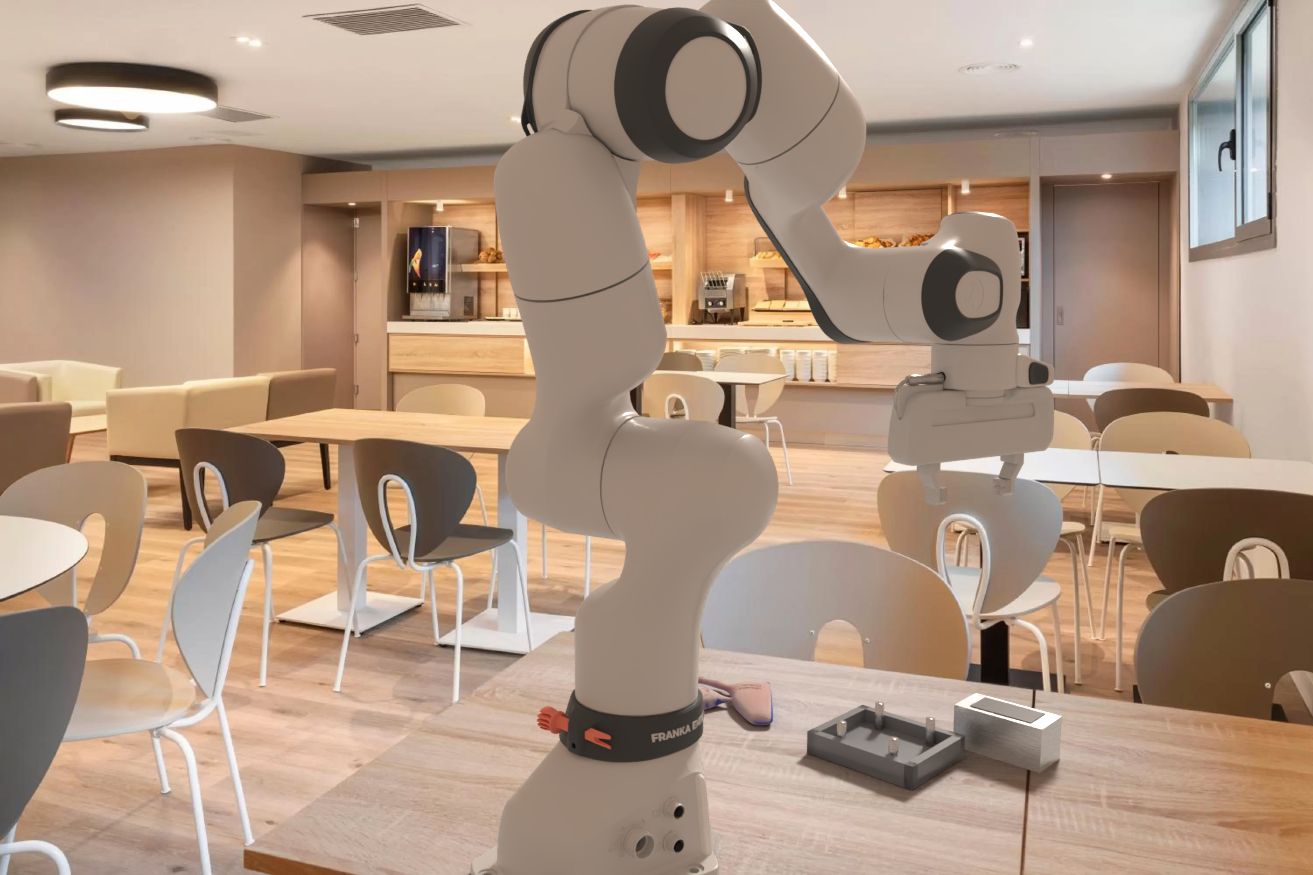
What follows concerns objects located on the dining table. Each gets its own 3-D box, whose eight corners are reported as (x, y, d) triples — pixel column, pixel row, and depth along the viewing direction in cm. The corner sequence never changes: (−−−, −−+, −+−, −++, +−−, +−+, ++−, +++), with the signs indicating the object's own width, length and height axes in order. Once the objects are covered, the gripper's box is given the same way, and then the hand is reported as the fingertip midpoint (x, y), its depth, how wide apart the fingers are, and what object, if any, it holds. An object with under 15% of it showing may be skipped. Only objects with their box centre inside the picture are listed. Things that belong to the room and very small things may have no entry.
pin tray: (912, 790, 107) (913, 752, 106) (806, 753, 116) (807, 718, 115) (964, 757, 115) (966, 722, 114) (862, 724, 124) (863, 692, 123)
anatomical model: (772, 733, 123) (771, 687, 138) (773, 709, 123) (771, 666, 137) (599, 725, 125) (616, 680, 140) (599, 701, 124) (616, 659, 139)
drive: (1039, 774, 111) (1041, 728, 111) (952, 747, 118) (954, 703, 117) (1059, 760, 115) (1061, 715, 114) (974, 734, 122) (975, 691, 121)
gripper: (916, 378, 104) (913, 515, 106) (1066, 367, 113) (1061, 494, 115) (875, 373, 110) (873, 504, 112) (1022, 363, 119) (1017, 484, 121)
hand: (970, 499), depth 113 cm, fingers open, 8 cm apart
